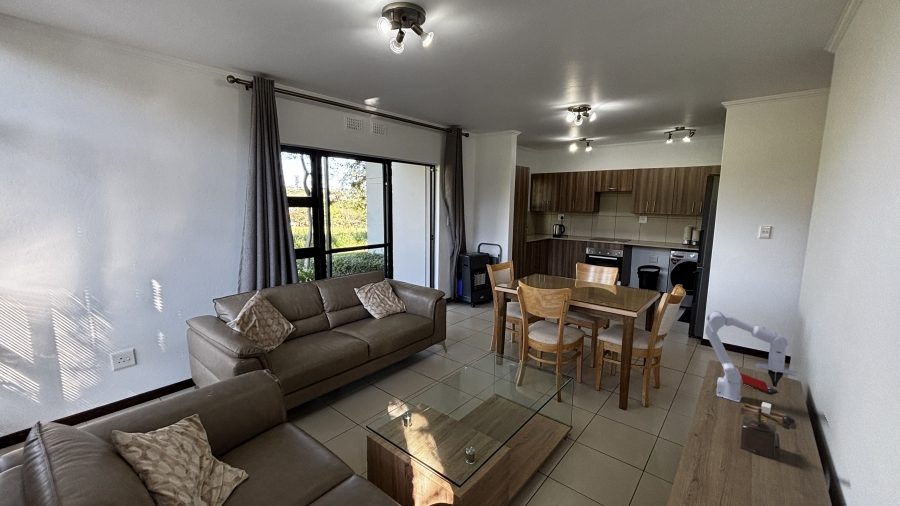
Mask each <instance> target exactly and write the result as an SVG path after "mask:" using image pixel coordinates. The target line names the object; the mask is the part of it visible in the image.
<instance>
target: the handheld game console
mask: <svg viewBox="0 0 900 506" xmlns="http://www.w3.org/2000/svg"><path fill="white" fill-rule="evenodd" d="M739 373H740V372H739ZM740 375H741V382H742V385H744V384H746V385H749V386H751V387H753V388H752V389H755V390H757V389H758V391H759V392H761V393H764V394H766V395H770V394H775V393H777V392H778V390H777V389H774V388H772V387H769V386H768V385H767V383H766V382H765V381H763V380H761V379H757V378H756V377H753V376H750V375H748V374H747V375H746V374H745V373H740ZM746 385H745V386H746ZM749 386H748V387H749ZM751 387H750V388H751Z"/></svg>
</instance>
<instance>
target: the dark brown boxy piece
mask: <svg viewBox="0 0 900 506" xmlns="http://www.w3.org/2000/svg"><path fill="white" fill-rule="evenodd" d="M757 413H758V419H757V418H753V417H750V416H748V417H747V416H746V415H744V416H743V418H742V422H741V431H740V443H739V448H740V449H742V450H744V451H748V452H750V453H753V454H756V455H759V456H763V457H766V458H769V459H770V458H771V459H775V456H776V450H775V437H776V435H777V426H776V425H777V424H774V423H771V422H767V421H764V420H761V415H763V416H764V417H766V418H769V419H771V420H773V421H776V422H778V423H779V424H781V425H782V426H781V425H780V426H781V427H782V428H783V429H786V430H791V429H792V428H791V427H792V426H795V425H796V419H795V418H793V417H792V416H790V415H789V416H787V415H788V414H785V415H784V416H783V417H782V420H783V423H782V422H780V421H779V420H777V419H774V418H772V417H770V416H767V415H765V414H763V413H762V409H761V407H760V408H758V412H757Z"/></svg>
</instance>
